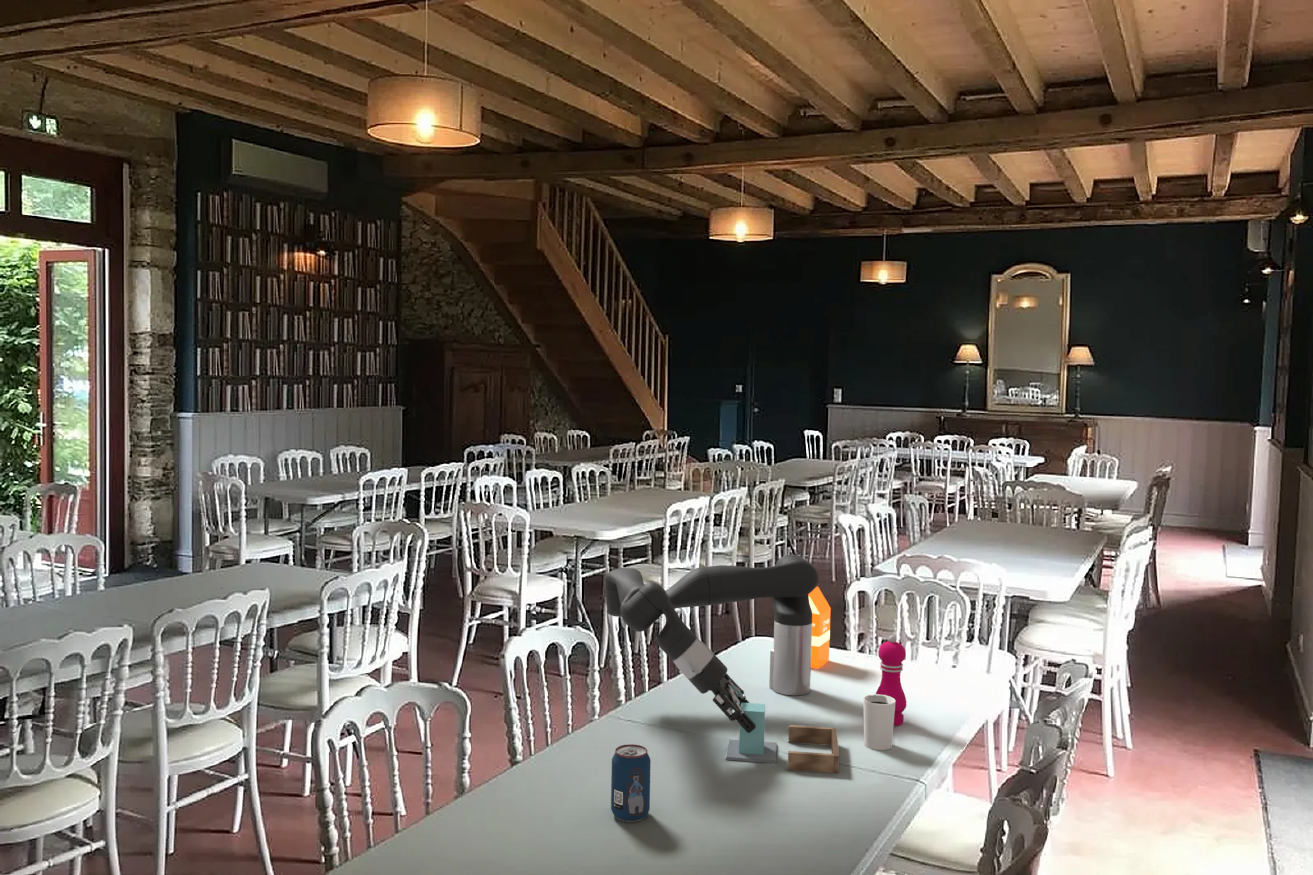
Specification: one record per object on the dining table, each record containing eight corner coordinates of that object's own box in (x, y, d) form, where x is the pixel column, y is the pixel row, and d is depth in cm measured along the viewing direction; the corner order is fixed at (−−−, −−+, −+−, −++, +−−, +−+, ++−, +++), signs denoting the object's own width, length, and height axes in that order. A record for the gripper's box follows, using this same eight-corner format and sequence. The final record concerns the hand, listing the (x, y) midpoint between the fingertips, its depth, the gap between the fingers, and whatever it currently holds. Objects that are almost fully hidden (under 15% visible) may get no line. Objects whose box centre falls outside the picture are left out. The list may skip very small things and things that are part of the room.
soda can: (628, 803, 196) (629, 740, 195) (657, 814, 192) (658, 749, 191) (602, 816, 191) (603, 750, 190) (632, 827, 187) (633, 760, 186)
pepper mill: (897, 729, 238) (900, 641, 236) (867, 722, 242) (870, 635, 240) (910, 721, 243) (914, 634, 242) (881, 714, 248) (884, 629, 246)
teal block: (738, 753, 220) (740, 710, 220) (740, 744, 225) (741, 702, 225) (763, 754, 220) (764, 712, 219) (763, 745, 225) (765, 704, 224)
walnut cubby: (787, 769, 214) (788, 752, 213) (788, 740, 230) (788, 725, 229) (838, 773, 212) (839, 756, 212) (835, 744, 228) (836, 728, 228)
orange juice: (790, 664, 286) (793, 590, 284) (802, 656, 293) (804, 584, 292) (818, 669, 282) (821, 594, 280) (829, 660, 290) (832, 587, 288)
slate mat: (726, 759, 218) (726, 756, 218) (729, 742, 228) (729, 739, 228) (775, 763, 217) (775, 760, 217) (776, 745, 227) (776, 742, 227)
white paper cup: (894, 752, 224) (895, 705, 223) (861, 749, 226) (863, 703, 225) (893, 741, 231) (895, 695, 230) (862, 738, 232) (863, 693, 231)
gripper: (690, 667, 230) (742, 722, 229) (683, 687, 216) (738, 746, 215) (715, 644, 229) (767, 700, 228) (710, 663, 215) (765, 723, 214)
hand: (753, 722), depth 222 cm, fingers open, 8 cm apart
